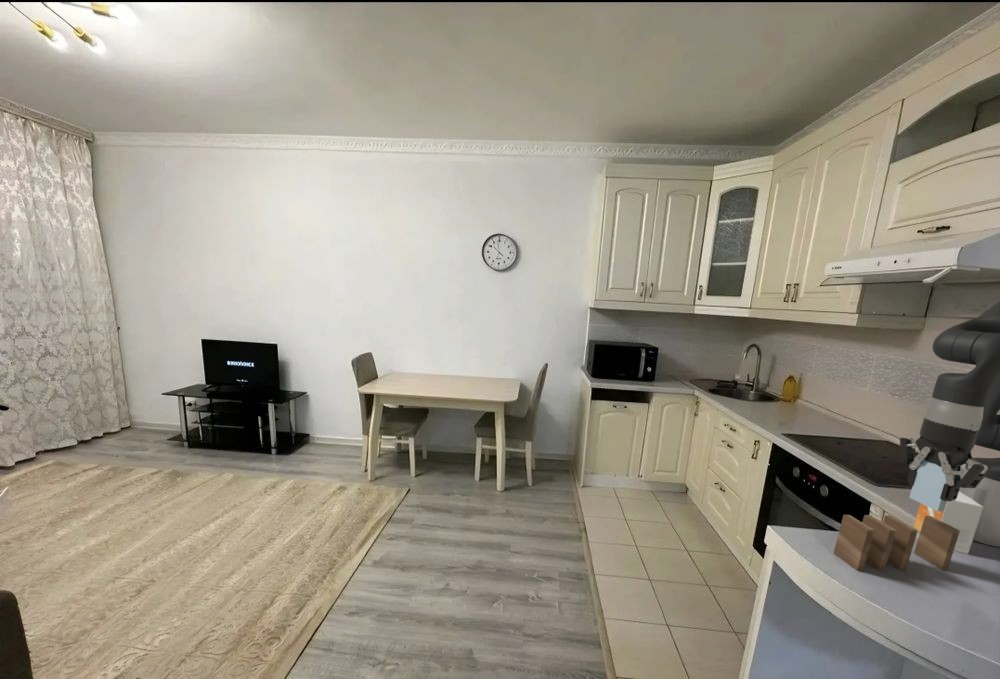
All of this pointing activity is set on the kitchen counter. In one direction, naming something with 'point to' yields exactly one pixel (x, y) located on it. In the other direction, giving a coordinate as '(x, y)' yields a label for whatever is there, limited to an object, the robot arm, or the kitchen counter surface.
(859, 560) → the domino
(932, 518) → the domino
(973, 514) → the small box
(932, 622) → the kitchen counter surface
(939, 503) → the domino
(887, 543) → the domino
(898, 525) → the domino
